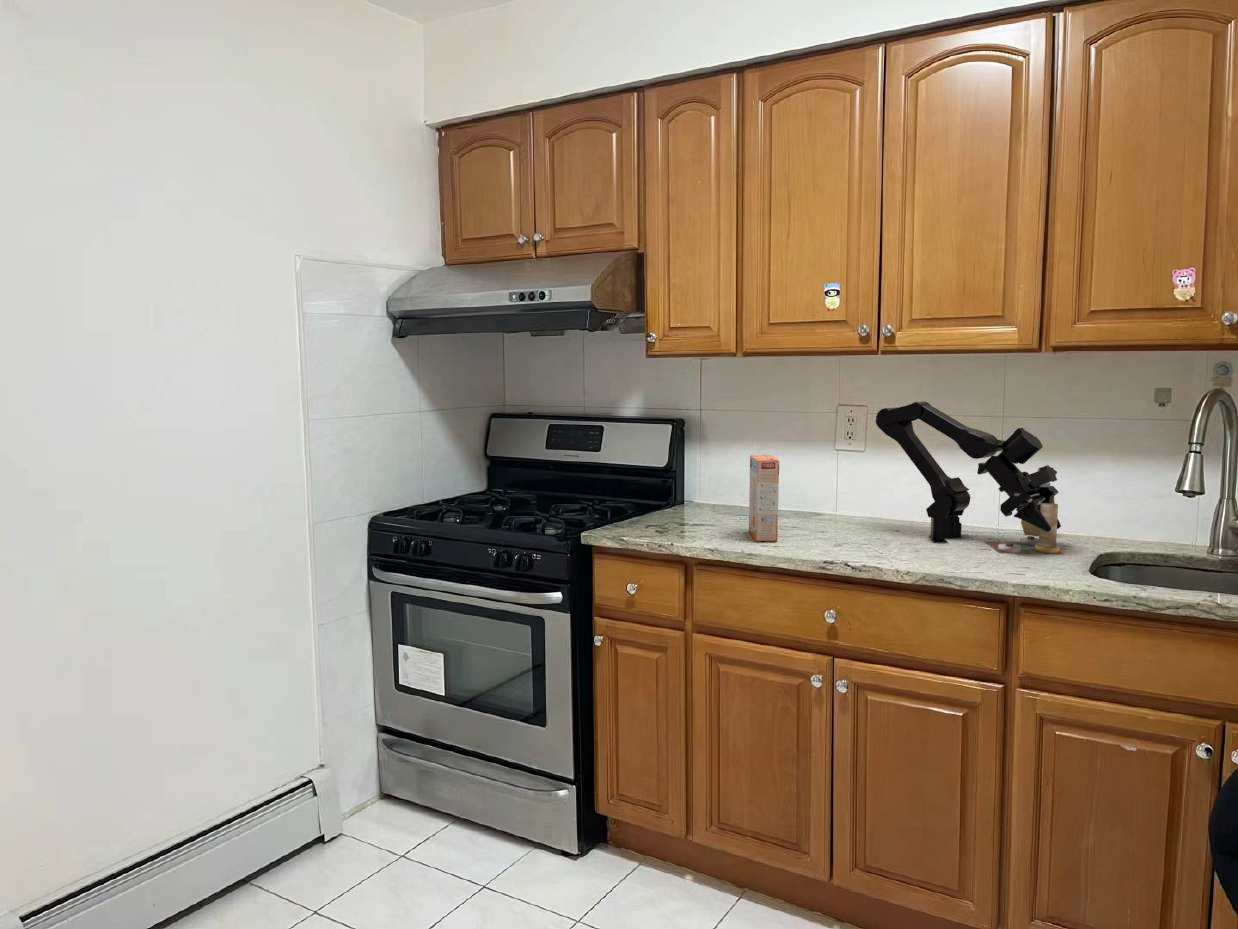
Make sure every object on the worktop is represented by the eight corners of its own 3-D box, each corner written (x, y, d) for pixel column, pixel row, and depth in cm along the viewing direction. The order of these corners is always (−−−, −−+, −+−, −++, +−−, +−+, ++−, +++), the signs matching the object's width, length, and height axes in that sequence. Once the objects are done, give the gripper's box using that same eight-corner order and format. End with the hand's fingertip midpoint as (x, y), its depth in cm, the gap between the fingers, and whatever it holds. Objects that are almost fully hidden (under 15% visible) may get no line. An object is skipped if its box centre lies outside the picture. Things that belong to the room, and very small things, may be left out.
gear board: (998, 558, 203) (999, 545, 203) (983, 546, 217) (984, 534, 216) (1063, 559, 201) (1064, 546, 201) (1044, 547, 214) (1045, 535, 214)
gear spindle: (1038, 553, 202) (1040, 505, 201) (1031, 548, 207) (1033, 502, 206) (1063, 553, 201) (1065, 505, 200) (1055, 549, 206) (1057, 502, 205)
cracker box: (779, 542, 223) (780, 459, 220) (755, 542, 223) (755, 459, 221) (770, 532, 237) (771, 453, 234) (748, 532, 237) (748, 454, 234)
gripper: (1016, 457, 199) (1064, 512, 192) (1051, 451, 211) (1098, 502, 204) (980, 489, 205) (1026, 542, 198) (1016, 481, 218) (1061, 532, 211)
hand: (1054, 529), depth 203 cm, fingers open, 5 cm apart
